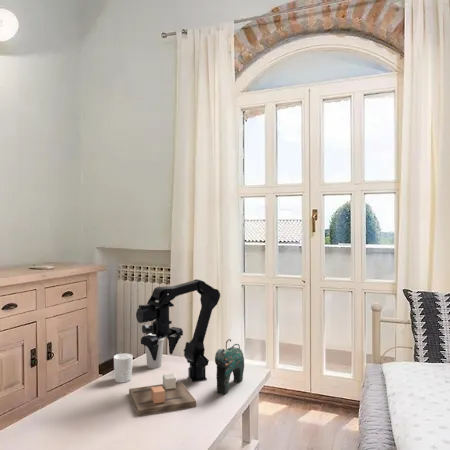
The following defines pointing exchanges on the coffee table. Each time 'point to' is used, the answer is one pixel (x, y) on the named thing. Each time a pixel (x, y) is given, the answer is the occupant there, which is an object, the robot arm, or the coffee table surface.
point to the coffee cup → (157, 363)
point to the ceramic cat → (228, 367)
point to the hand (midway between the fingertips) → (162, 357)
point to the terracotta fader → (157, 394)
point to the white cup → (123, 367)
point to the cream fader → (169, 381)
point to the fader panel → (173, 401)
